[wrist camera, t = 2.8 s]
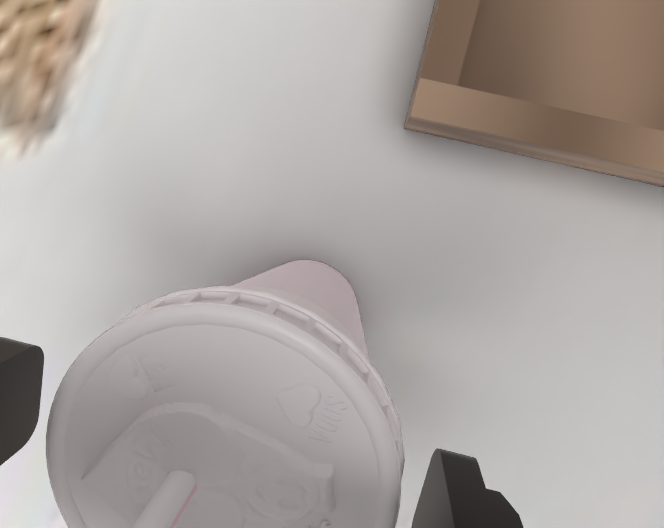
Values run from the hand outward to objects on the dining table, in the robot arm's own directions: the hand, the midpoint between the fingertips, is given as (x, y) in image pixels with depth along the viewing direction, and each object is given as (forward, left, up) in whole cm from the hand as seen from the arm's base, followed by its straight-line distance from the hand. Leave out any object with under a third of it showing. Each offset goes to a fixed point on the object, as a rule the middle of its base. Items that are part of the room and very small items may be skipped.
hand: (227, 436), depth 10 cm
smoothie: (0, 0, -9) cm, 8 cm away
